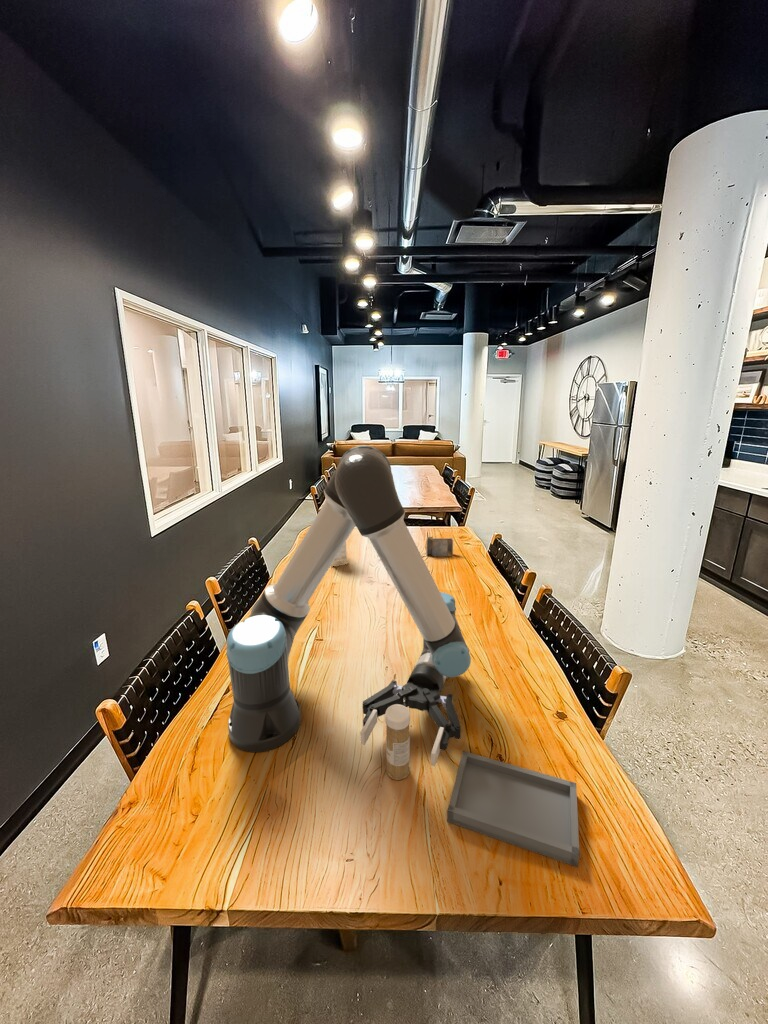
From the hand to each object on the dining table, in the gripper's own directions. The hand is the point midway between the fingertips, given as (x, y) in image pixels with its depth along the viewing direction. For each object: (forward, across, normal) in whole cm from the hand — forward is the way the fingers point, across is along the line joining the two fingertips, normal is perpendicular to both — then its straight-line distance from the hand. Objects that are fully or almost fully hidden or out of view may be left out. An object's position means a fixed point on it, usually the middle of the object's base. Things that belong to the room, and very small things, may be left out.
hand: (396, 749), depth 78 cm
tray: (-2, -21, -7) cm, 22 cm away
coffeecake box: (-93, +62, -7) cm, 112 cm away
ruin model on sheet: (-113, +20, -8) cm, 115 cm away
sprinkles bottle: (-2, 0, -7) cm, 7 cm away
